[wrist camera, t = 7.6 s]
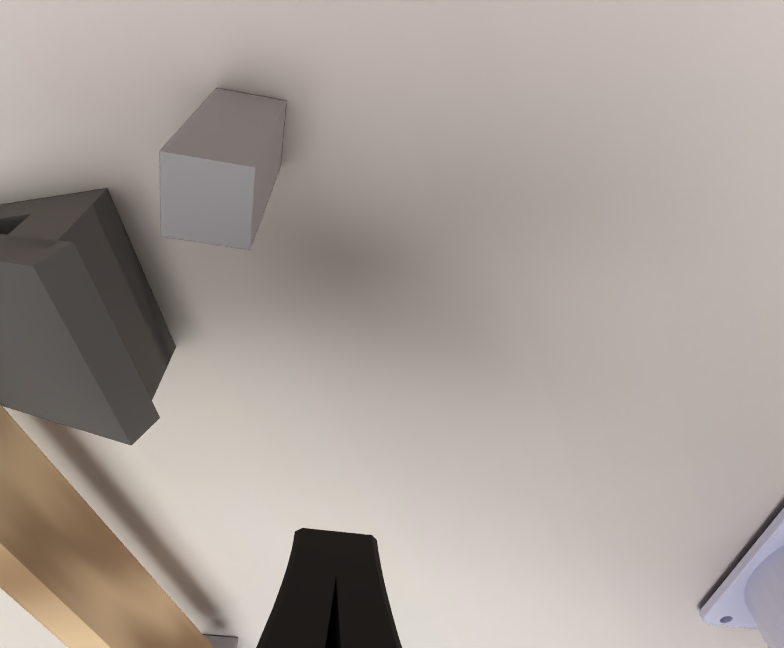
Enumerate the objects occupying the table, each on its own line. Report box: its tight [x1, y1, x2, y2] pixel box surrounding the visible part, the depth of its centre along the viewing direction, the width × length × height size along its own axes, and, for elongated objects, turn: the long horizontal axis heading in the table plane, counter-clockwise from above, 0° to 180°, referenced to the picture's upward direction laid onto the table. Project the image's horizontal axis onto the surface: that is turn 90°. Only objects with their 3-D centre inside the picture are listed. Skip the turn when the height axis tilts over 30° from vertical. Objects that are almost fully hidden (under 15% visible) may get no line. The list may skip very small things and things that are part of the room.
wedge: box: [0, 188, 176, 445], centre depth 15 cm, size 6×5×4 cm
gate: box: [0, 405, 214, 648], centre depth 18 cm, size 21×2×3 cm, turn 17°
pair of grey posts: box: [159, 88, 286, 648], centre depth 19 cm, size 2×25×4 cm, turn 169°
